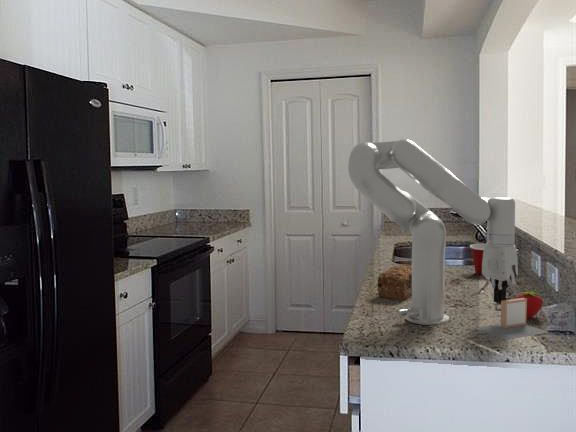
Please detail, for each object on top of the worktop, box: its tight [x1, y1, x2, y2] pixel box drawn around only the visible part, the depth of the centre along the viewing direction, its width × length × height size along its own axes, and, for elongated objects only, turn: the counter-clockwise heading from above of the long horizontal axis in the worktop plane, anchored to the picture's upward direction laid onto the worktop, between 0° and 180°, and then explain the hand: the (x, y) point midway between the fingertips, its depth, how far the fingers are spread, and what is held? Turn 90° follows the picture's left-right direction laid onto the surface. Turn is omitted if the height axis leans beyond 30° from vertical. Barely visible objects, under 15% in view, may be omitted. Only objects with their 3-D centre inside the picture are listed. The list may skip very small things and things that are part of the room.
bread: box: [377, 263, 412, 301], centre depth 211 cm, size 19×11×10 cm, turn 149°
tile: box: [500, 298, 527, 328], centre depth 167 cm, size 8×2×8 cm, turn 114°
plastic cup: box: [469, 243, 486, 276], centre depth 248 cm, size 11×11×12 cm
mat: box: [472, 323, 550, 341], centre depth 163 cm, size 16×12×1 cm
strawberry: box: [515, 287, 544, 319], centre depth 176 cm, size 6×8×10 cm
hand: (499, 301), depth 172 cm, fingers closed
